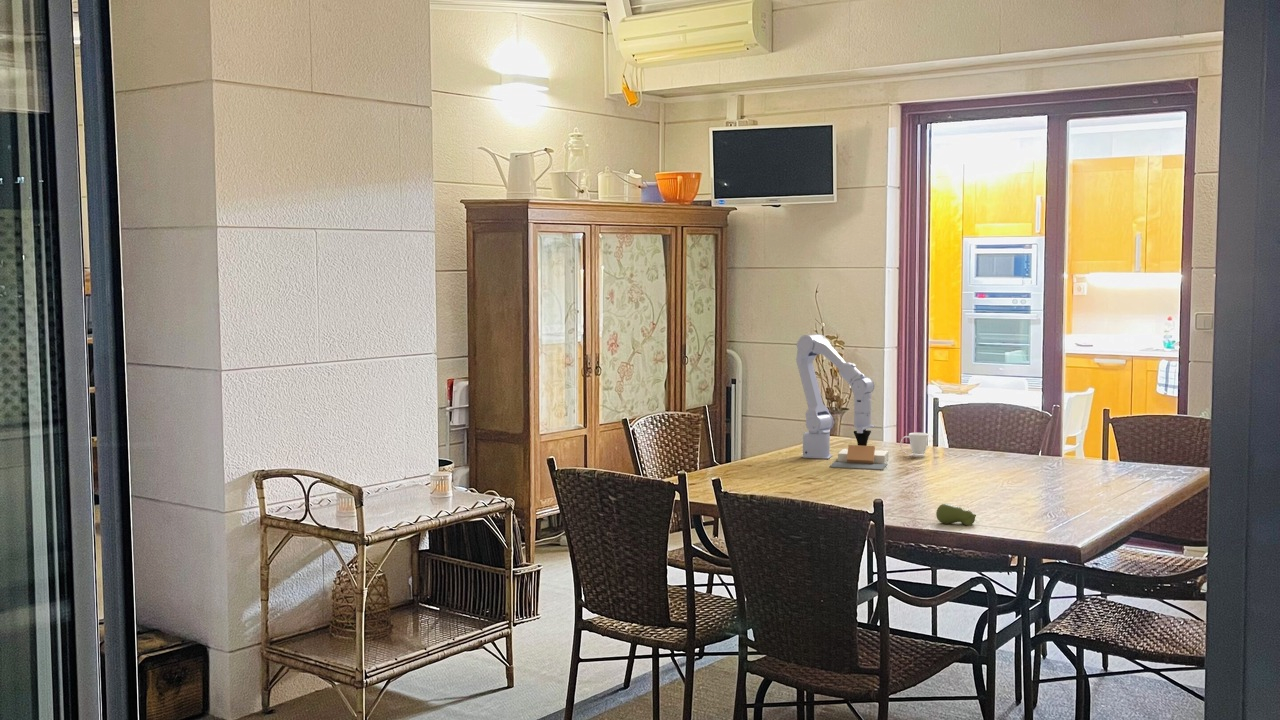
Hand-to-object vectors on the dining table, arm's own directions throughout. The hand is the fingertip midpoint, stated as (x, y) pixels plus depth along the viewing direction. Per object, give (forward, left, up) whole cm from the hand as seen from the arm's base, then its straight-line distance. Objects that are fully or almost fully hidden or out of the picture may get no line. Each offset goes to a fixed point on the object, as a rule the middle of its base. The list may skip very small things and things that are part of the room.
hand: (862, 451), depth 406 cm
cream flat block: (0, +4, -4) cm, 5 cm away
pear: (+37, -95, -4) cm, 102 cm away
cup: (+16, +21, -4) cm, 26 cm away
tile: (0, -3, -1) cm, 3 cm away
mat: (0, -9, -4) cm, 10 cm away
